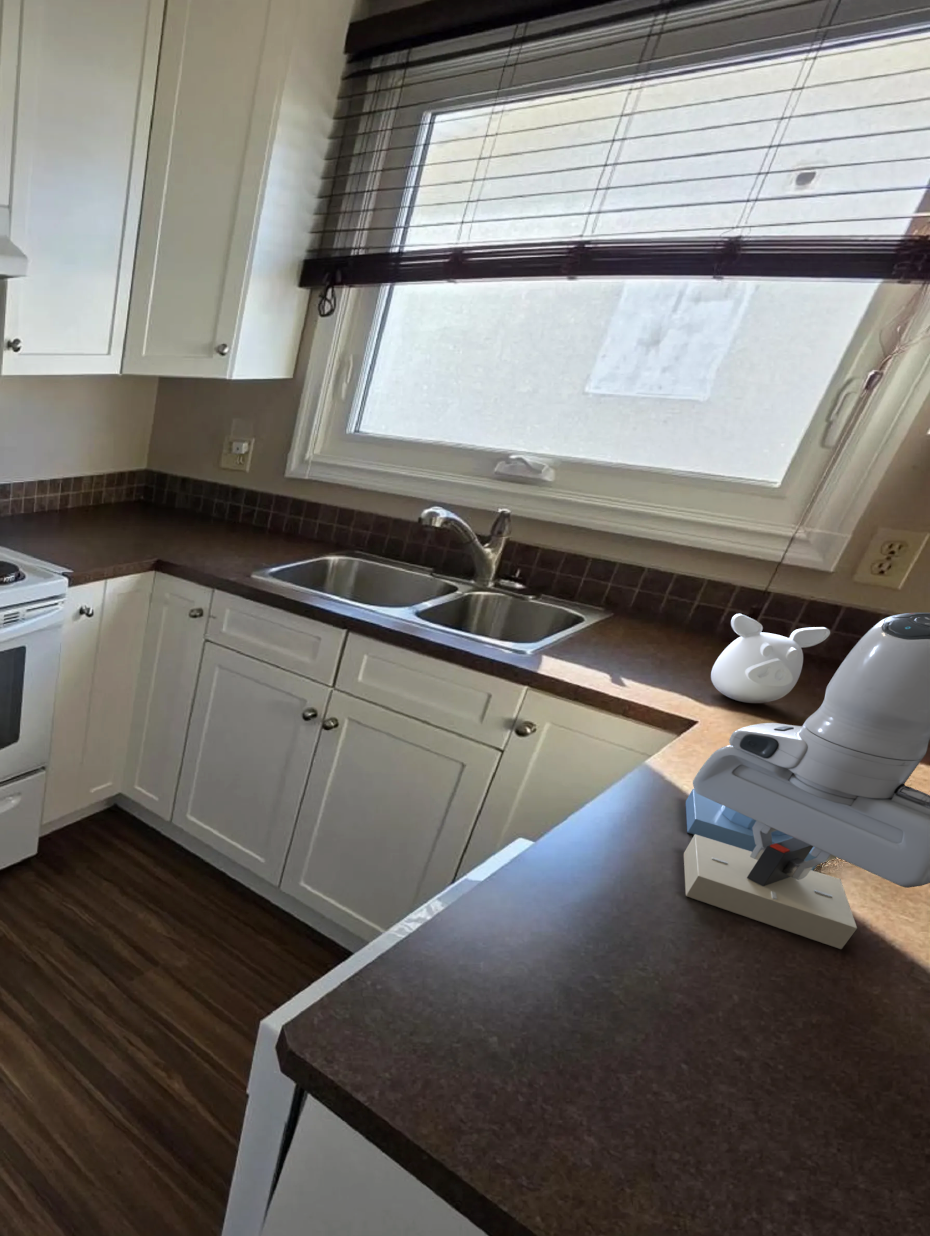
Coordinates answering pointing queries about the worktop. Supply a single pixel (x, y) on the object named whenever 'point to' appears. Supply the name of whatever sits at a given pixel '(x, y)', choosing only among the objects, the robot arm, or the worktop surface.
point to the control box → (768, 893)
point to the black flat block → (777, 860)
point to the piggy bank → (762, 661)
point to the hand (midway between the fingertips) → (776, 867)
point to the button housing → (725, 824)
